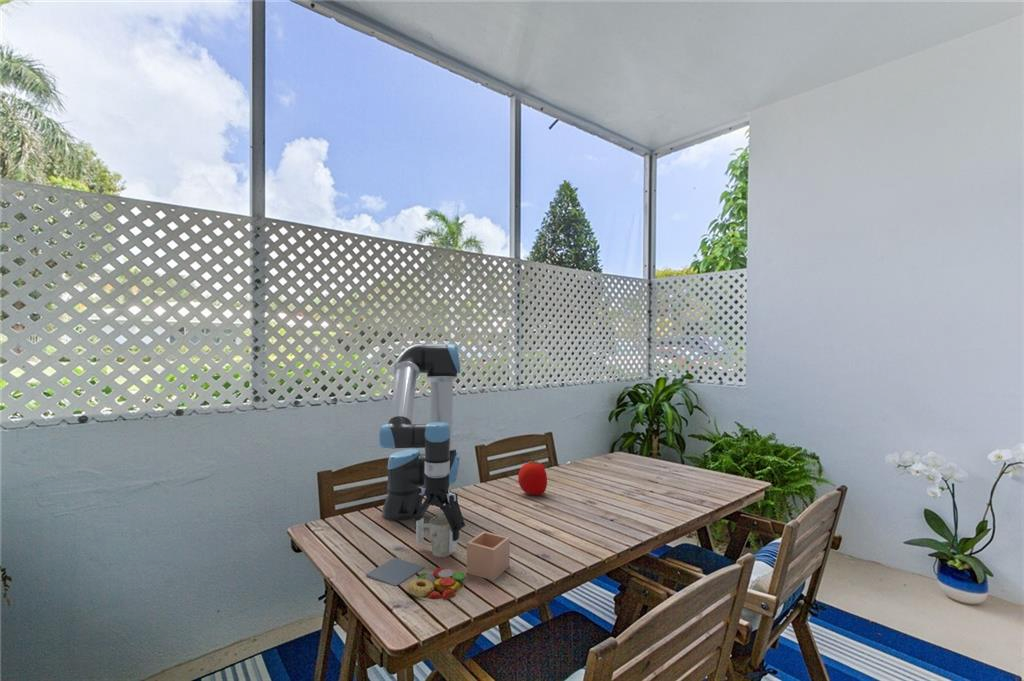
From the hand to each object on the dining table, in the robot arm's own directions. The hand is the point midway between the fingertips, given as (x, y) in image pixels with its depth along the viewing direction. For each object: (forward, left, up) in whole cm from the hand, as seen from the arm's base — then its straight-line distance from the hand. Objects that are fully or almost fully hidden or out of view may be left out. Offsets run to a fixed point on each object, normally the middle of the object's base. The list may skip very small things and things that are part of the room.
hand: (436, 545), depth 134 cm
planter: (+20, -2, -2) cm, 20 cm away
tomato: (+2, +61, -2) cm, 61 cm away
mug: (0, 0, -2) cm, 2 cm away
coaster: (-2, -15, -2) cm, 15 cm away
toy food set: (+13, -15, -3) cm, 21 cm away
